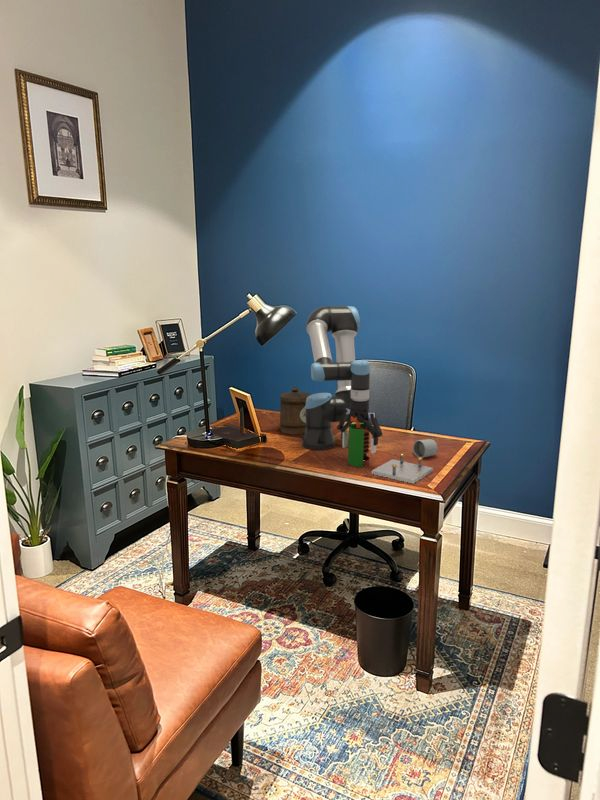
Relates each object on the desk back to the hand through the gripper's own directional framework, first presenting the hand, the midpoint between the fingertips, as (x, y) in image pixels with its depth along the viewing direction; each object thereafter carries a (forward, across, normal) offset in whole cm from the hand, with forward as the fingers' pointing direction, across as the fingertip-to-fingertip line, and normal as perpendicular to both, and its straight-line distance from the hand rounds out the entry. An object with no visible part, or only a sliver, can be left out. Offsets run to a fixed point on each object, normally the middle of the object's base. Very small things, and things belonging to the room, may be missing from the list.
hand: (359, 449), depth 248 cm
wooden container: (+6, -51, +24) cm, 57 cm away
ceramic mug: (+6, +17, +24) cm, 30 cm away
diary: (+6, -63, -7) cm, 64 cm away
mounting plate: (+6, +20, 0) cm, 21 cm away
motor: (+6, 0, 0) cm, 6 cm away
